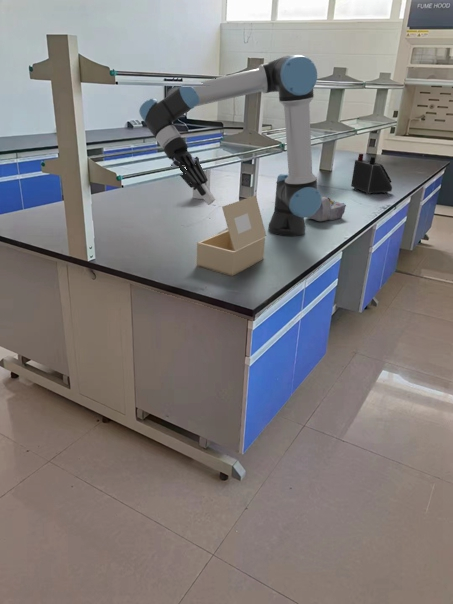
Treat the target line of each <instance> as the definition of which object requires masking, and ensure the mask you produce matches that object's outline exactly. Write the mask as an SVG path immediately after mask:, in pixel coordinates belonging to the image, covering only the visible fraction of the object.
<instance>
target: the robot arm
mask: <svg viewBox="0 0 453 604" xmlns="http://www.w3.org/2000/svg"><path fill="white" fill-rule="evenodd" d="M215 78H216V79H215ZM215 78H211V80H210V79H207V80H203V81H200V82H201V83H203V84H202V85H210V86H206V87H180V86H174V87H171V88H170V89H168V91H167V94H166V97H164V99H162V100H160V101H159V100H158V99H157V98H150V99H148V100H146V101H144V102H143V103H142V104H141V105H140V107H139V115H140V117H141V119H142V120H143V122H144V124H145V125H146V127H147V128H148V129H149V131H150V132H151V134H152V135H153V136H154V138H155V140H156V141H157V143H158V145H159V146H160V147H161V149H163V152H164V154H165V155H166V156H167V158H168V159H169V160H170V161H172V163H171V164H170V165H171V166H179V168H180V170H181V171H182V172H183V175H179V176H180V177H181V178H182V180H183V181H184V182H185V183H186V184H187V186H188V187H190V189H192V190H193V189H194V190H196V189H197V190H198V192H199V193H200V195H201V196H202V197H203V198H204V199H203V200H204V202H205V203H206V204H207V206H210V205H212V203H214V202H215V200H216V198H215V197H214V195H213V194H212V193H211V189H210V190H209V189H208V187H207V186H206V182H207V181H208V179H207V177H206V175H205V173H204V171H203V169H202V167H201V165H200V163H199V159H200V158H199V157H198V156H195V157H193V156H192V154H191V153H190V152H189V151H188V148H189V145H188V143H186V141H185V139H184V138H183V137H182V135H181V133H180V132H179V130H178V129H177V127H176V126H175V125H174V124H173V123H174V122H175V121H177V120H178V119H179V118H181V117H182V116H184V115H185V114H186V113H188V112H189V111H191V110H193V109H194V108H195V107H199V106H203V105H204V106H205V105H208V104H212V103H217V102H221V101H225V100H229V99H233V98H237V97H242V96H246V95H247V96H248V95H251V94H256V93H261V92H262V93H263V94H269V93H275V92H276V93H277V92H278V100H279V103H280V104H281V106H283V107H284V108H283V109H284V124H285V138H286V139H285V141H286V154H287V170H288V173H281V174H279V175H277V178H276V182H275V184H276V187H275V188H276V190H275V198H274V199H275V200H274V210H273V213H272V216H271V218H270V221H269V222H268V231H269V232H270V233H272V234H275V235H279V236H284V237H285V236H287V237H297V236H298V237H299V236H302V235H304V234H305V233H306V224H305V223H306V222H305V218H306V217H309V216H312V215H313V214H315V213H316V212H317V210H318V209H319V208H320V206H321V201H322V199H321V197H322V195H321V193H320V191H319V190H318V182H317V181H318V180H317V179H318V178H317V176H316V175H315V174H314V173H313V161H312V160H313V159H312V139H311V138H312V137H311V115H310V114H311V111H310V109H311V107H310V103H311V102H312V100H313V99H315V95H314V87H315V86H316V84H317V81H318V69H317V67H316V65H315V63H314V61H312V60H311V59H310V58H309V57H307V56H304V55H302V54H294V55H286V56H281V57H279V58H276V59H273V60H272V61H269V62H266V63H262V64H259V65H258V67H257V68H254V69H250V70H245V71H241V72H236V73H231V74H229V75H228V74H227V75H223V76H221V77H220V76H219V77H215ZM195 164H196V165H195ZM182 165H185V166H186V169H187V170H186V169H185V168H184V167H183V166H182ZM171 166H170V167H171ZM185 173H186V174H185ZM193 187H194V188H193Z"/></svg>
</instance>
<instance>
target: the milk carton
mask: <svg viewBox="0 0 453 604" xmlns="http://www.w3.org/2000/svg"><path fill="white" fill-rule="evenodd" d="M204 173H205V175H206V177H207V179H208V181H207V182H206V186H207V187H208V189H209V190H210V191H211V169H210V170H206V171H204ZM193 188H194V187H192V199H199V200H200V199H201V200H204V198H203V197H202V196H201V195H200V193H199V192H198V190H197V189H196V190H194V189H193Z"/></svg>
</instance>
